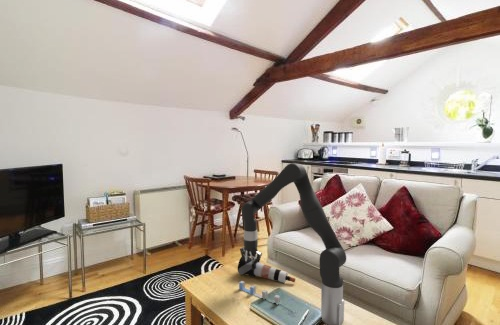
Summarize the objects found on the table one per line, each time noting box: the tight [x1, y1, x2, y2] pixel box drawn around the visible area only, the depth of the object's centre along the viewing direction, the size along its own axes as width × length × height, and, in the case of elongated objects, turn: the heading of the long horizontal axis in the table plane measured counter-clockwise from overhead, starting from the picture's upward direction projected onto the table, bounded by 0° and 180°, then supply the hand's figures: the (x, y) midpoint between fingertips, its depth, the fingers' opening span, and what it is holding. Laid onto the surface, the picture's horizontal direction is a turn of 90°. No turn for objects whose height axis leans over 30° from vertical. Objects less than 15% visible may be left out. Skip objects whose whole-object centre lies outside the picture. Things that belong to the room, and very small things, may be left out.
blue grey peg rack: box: [238, 280, 281, 303], centre depth 141 cm, size 24×2×4 cm, turn 52°
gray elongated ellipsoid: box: [237, 261, 252, 275], centre depth 145 cm, size 14×4×4 cm, turn 142°
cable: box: [237, 256, 296, 284], centre depth 159 cm, size 10×34×10 cm, turn 66°
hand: (250, 268), depth 147 cm, fingers closed on gray elongated ellipsoid, 3 cm apart
